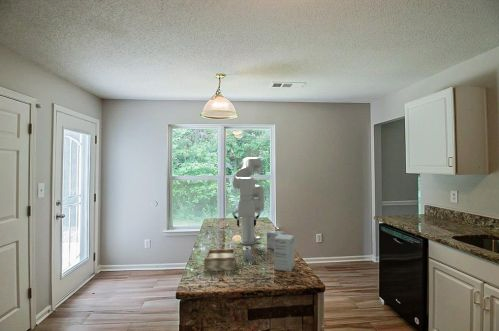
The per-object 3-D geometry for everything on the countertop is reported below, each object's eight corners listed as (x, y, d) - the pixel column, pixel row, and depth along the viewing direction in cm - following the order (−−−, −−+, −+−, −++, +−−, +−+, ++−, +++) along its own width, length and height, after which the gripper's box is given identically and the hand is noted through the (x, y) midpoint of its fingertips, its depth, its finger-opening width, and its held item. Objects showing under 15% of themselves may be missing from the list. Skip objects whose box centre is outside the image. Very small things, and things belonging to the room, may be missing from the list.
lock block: (250, 255, 170) (250, 244, 170) (251, 259, 163) (251, 248, 163) (242, 256, 170) (242, 245, 170) (243, 259, 163) (242, 248, 163)
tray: (235, 260, 162) (235, 249, 162) (234, 270, 146) (234, 257, 147) (208, 260, 162) (208, 249, 162) (204, 270, 146) (204, 258, 146)
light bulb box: (284, 247, 187) (284, 231, 187) (281, 250, 181) (281, 233, 181) (270, 245, 192) (269, 230, 192) (266, 248, 186) (266, 232, 186)
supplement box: (279, 263, 156) (278, 233, 156) (295, 265, 152) (294, 235, 152) (273, 269, 147) (273, 237, 147) (290, 271, 143) (290, 239, 143)
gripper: (260, 197, 171) (260, 224, 171) (232, 197, 170) (232, 225, 170) (260, 198, 164) (261, 227, 163) (231, 199, 163) (232, 228, 163)
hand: (246, 226), depth 167 cm, fingers open, 9 cm apart
